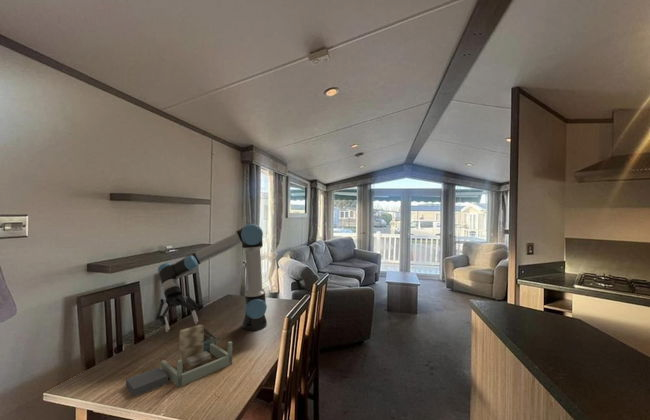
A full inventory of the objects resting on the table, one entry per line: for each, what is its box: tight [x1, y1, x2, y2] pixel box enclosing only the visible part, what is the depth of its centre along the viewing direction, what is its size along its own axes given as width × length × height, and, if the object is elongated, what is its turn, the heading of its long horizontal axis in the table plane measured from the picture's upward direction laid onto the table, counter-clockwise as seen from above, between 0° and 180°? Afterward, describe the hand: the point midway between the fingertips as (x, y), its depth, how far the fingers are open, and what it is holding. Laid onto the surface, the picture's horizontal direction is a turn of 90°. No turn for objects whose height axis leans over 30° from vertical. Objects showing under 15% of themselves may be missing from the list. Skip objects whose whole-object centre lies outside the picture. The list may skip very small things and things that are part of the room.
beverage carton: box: [203, 327, 217, 352], centre depth 150 cm, size 8×19×7 cm, turn 42°
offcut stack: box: [182, 351, 212, 373], centre depth 125 cm, size 11×6×6 cm, turn 139°
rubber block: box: [125, 366, 169, 398], centre depth 114 cm, size 12×10×3 cm
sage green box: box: [160, 341, 233, 388], centre depth 128 cm, size 24×18×10 cm
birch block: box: [178, 323, 205, 368], centre depth 132 cm, size 10×3×16 cm, turn 139°
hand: (183, 326), depth 137 cm, fingers open, 13 cm apart
